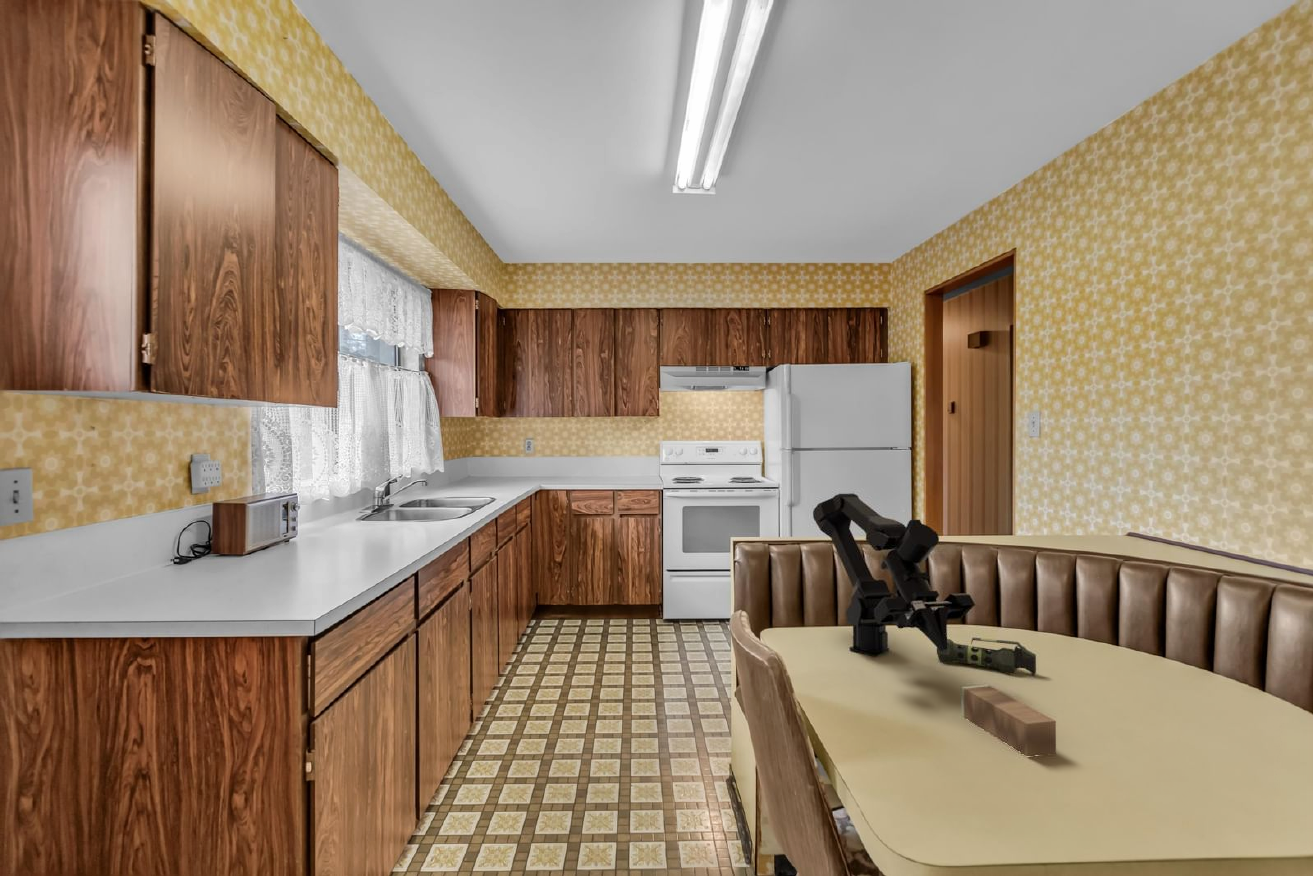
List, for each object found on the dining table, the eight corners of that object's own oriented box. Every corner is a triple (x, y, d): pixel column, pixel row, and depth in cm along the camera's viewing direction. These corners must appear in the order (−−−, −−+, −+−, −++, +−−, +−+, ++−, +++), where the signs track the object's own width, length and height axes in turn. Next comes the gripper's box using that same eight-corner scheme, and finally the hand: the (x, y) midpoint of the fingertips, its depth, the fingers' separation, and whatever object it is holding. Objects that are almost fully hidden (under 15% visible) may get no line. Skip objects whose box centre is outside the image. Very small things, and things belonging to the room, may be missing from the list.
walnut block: (961, 687, 104) (1027, 724, 90) (987, 684, 105) (1055, 720, 91) (961, 716, 104) (1027, 758, 90) (987, 713, 105) (1055, 754, 91)
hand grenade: (939, 656, 134) (1036, 672, 124) (935, 663, 130) (1035, 681, 120) (939, 627, 134) (1035, 641, 124) (935, 633, 130) (1035, 649, 120)
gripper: (930, 595, 130) (966, 666, 120) (850, 599, 126) (880, 673, 116) (956, 566, 123) (997, 639, 112) (872, 569, 119) (906, 645, 108)
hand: (944, 650), depth 112 cm, fingers closed
